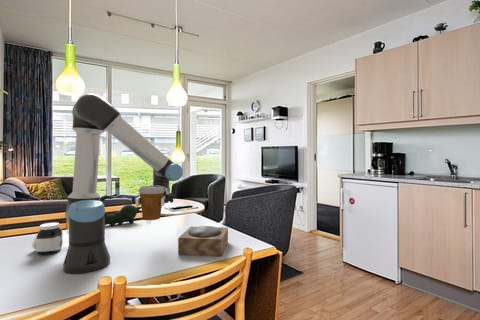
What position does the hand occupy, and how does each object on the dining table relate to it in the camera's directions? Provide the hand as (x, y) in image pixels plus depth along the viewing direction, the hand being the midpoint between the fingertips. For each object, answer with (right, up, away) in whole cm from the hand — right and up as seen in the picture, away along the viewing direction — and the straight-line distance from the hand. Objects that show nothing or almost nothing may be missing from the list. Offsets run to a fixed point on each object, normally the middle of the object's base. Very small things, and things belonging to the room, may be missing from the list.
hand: (149, 202), depth 98 cm
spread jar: (-50, -24, +17) cm, 58 cm away
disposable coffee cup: (-1, -7, +5) cm, 9 cm away
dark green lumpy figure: (-39, -23, +63) cm, 78 cm away
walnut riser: (+17, -24, +22) cm, 36 cm away
